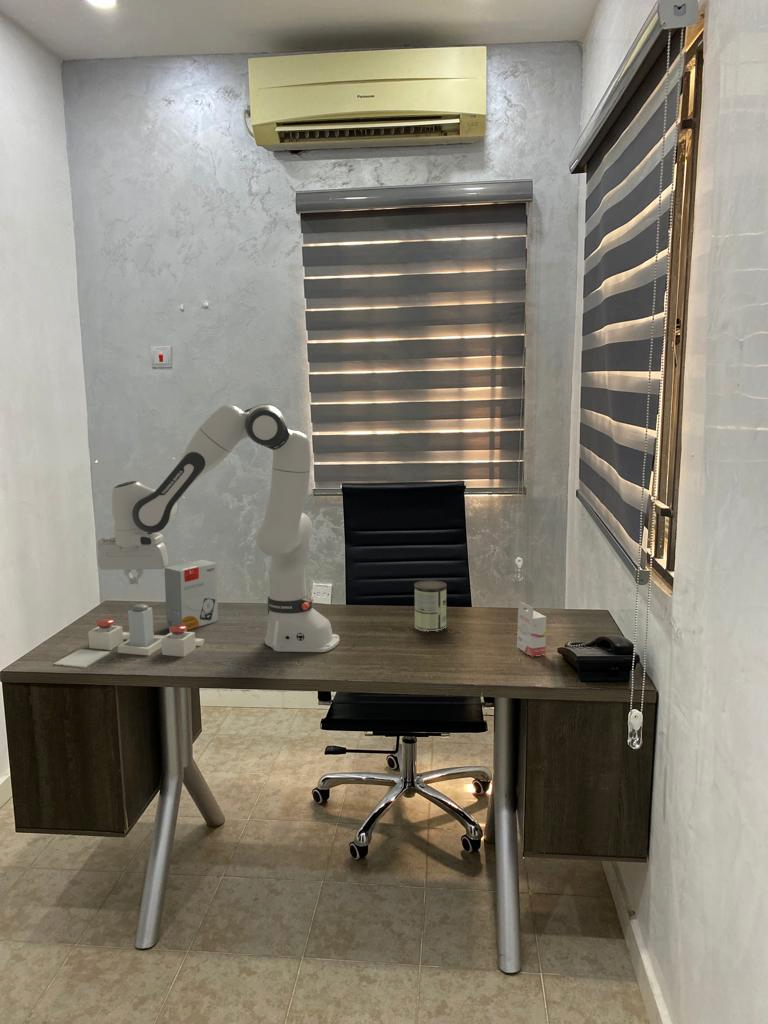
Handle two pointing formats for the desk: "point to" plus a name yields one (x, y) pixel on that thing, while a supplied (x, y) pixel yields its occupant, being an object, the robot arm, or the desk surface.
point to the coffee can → (430, 605)
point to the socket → (149, 650)
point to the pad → (82, 658)
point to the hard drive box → (191, 594)
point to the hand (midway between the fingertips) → (135, 583)
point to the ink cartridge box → (531, 630)
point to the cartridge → (141, 626)
